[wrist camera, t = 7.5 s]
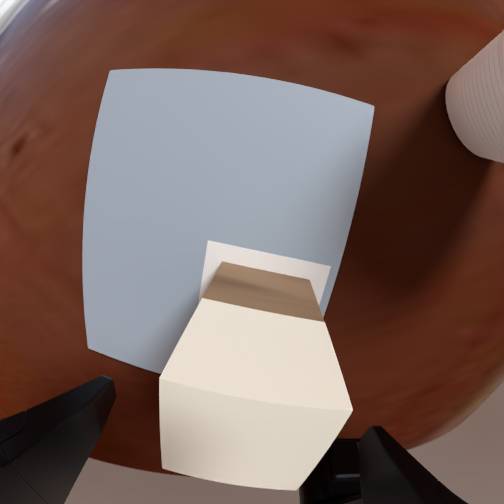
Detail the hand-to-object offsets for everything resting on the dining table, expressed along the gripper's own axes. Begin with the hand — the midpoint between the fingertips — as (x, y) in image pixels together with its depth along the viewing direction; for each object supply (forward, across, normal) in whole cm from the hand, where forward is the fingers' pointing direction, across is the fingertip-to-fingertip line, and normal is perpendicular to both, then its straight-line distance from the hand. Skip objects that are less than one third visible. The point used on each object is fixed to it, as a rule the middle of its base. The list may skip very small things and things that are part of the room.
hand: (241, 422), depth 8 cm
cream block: (+4, 0, 0) cm, 4 cm away
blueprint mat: (+10, +4, -3) cm, 11 cm away
